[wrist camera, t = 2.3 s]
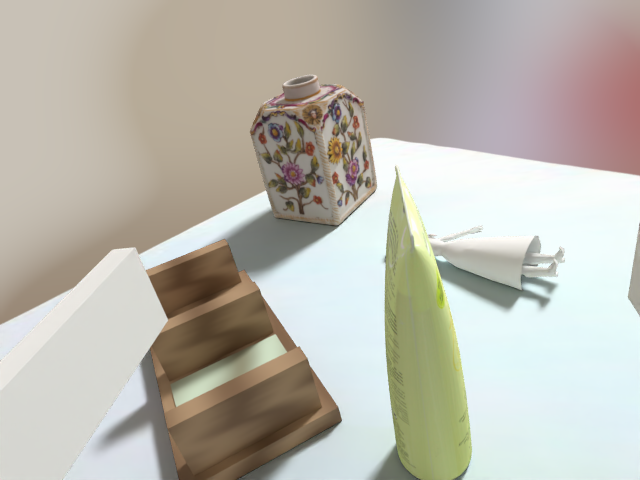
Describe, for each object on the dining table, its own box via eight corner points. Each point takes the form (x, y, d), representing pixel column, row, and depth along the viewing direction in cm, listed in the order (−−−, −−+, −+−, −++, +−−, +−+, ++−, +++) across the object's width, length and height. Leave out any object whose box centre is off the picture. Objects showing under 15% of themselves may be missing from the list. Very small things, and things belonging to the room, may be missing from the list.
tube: (496, 454, 31) (487, 184, 21) (446, 509, 28) (410, 233, 19) (429, 407, 35) (396, 163, 25) (381, 451, 33) (324, 202, 23)
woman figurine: (541, 280, 38) (359, 253, 49) (543, 323, 40) (368, 287, 51) (576, 213, 45) (411, 203, 57) (577, 252, 47) (417, 235, 59)
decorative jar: (380, 189, 69) (360, 63, 61) (340, 228, 62) (310, 90, 53) (315, 184, 76) (288, 70, 67) (271, 218, 68) (235, 95, 60)
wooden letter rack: (247, 280, 55) (231, 233, 52) (341, 420, 35) (324, 358, 32) (147, 323, 52) (123, 276, 49) (189, 505, 32) (153, 445, 29)
